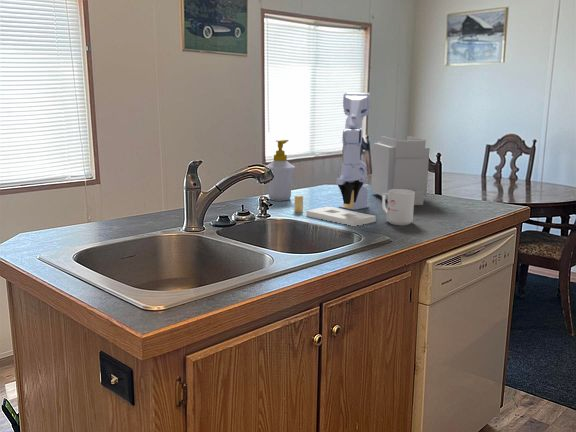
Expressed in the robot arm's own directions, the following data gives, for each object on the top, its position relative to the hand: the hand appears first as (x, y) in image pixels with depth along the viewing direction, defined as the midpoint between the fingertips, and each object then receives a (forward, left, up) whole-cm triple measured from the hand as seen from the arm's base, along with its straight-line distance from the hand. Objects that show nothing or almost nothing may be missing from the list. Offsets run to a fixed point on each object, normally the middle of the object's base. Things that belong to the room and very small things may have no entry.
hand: (349, 203), depth 192 cm
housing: (0, -4, -6) cm, 7 cm away
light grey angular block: (-50, -14, -7) cm, 52 cm away
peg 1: (+3, -22, -6) cm, 23 cm away
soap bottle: (-9, -45, -7) cm, 46 cm away
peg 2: (0, 0, -2) cm, 2 cm away
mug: (-11, +12, -7) cm, 18 cm away
